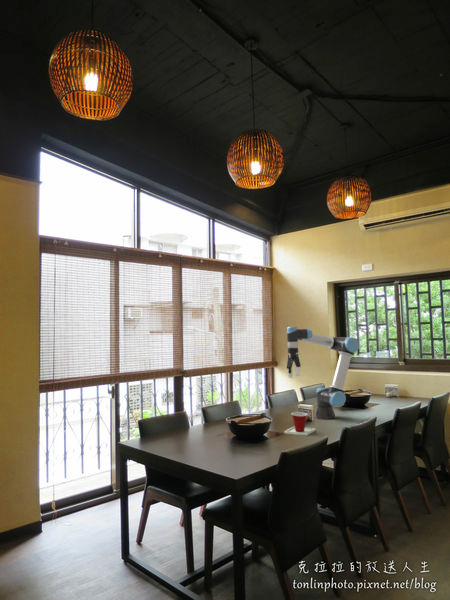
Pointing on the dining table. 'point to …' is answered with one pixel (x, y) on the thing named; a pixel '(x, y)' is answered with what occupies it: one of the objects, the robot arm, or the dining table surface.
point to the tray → (306, 432)
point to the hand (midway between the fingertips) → (294, 376)
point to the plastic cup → (299, 421)
